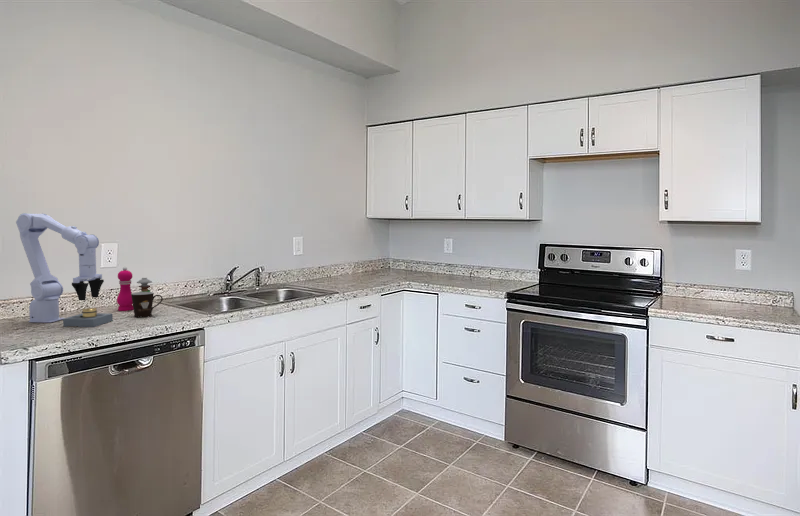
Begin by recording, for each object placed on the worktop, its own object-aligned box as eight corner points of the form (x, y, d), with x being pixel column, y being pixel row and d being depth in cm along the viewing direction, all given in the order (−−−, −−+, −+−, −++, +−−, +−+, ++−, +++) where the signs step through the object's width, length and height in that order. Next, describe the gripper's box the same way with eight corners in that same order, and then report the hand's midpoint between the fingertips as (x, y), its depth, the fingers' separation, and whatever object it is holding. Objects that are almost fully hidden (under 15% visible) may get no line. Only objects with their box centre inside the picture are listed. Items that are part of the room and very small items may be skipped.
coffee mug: (129, 318, 206) (128, 294, 205) (134, 314, 214) (134, 292, 213) (159, 317, 209) (158, 294, 208) (163, 313, 217) (163, 291, 216)
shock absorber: (147, 308, 229) (146, 276, 228) (155, 309, 226) (155, 277, 225) (134, 310, 223) (133, 278, 222) (143, 311, 220) (142, 279, 219)
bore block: (63, 326, 188) (63, 318, 188) (84, 320, 200) (83, 313, 200) (93, 327, 188) (93, 319, 188) (112, 320, 200) (112, 313, 200)
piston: (79, 324, 192) (79, 309, 192) (87, 322, 197) (87, 307, 197) (92, 324, 192) (91, 309, 192) (100, 322, 197) (99, 307, 196)
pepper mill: (130, 307, 230) (129, 265, 228) (137, 309, 225) (136, 266, 224) (114, 309, 224) (113, 266, 223) (120, 311, 220) (119, 267, 218)
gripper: (85, 266, 186) (86, 301, 187) (108, 263, 200) (109, 296, 201) (67, 266, 186) (68, 301, 187) (92, 263, 201) (93, 295, 202)
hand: (88, 298), depth 194 cm, fingers open, 7 cm apart
